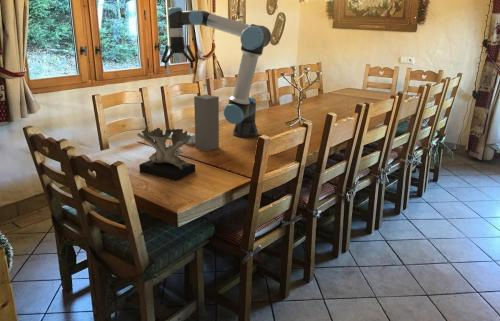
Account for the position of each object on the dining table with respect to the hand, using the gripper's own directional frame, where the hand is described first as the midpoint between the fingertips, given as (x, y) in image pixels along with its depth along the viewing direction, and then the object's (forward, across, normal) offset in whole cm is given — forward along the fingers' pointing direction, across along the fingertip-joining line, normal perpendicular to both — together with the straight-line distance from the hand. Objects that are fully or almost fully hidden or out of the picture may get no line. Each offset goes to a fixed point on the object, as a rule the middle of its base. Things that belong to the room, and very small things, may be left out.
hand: (179, 74), depth 240 cm
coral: (+37, -12, +69) cm, 79 cm away
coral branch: (+37, -8, +47) cm, 60 cm away
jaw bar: (+36, -2, +15) cm, 39 cm away
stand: (+37, -21, +26) cm, 49 cm away
